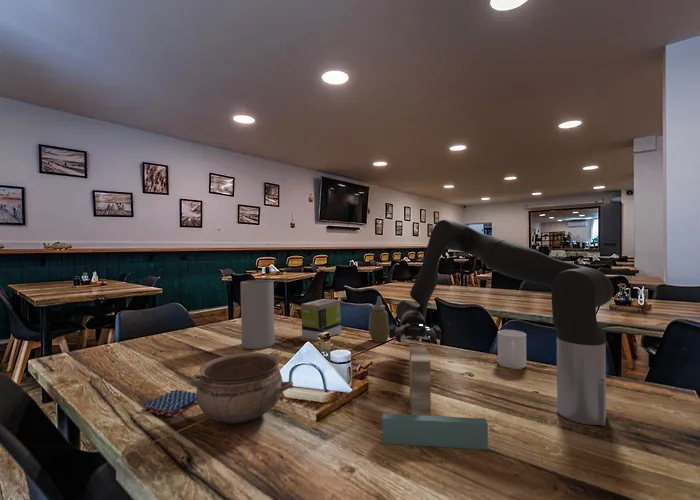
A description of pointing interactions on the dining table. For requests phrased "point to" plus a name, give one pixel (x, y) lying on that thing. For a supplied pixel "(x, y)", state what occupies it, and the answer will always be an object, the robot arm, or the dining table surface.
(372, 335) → the squeeze bottle
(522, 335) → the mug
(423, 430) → the rail
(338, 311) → the tea box
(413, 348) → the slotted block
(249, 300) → the cylinder vase
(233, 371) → the cooking pot
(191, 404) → the woven mat
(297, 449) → the dining table surface
